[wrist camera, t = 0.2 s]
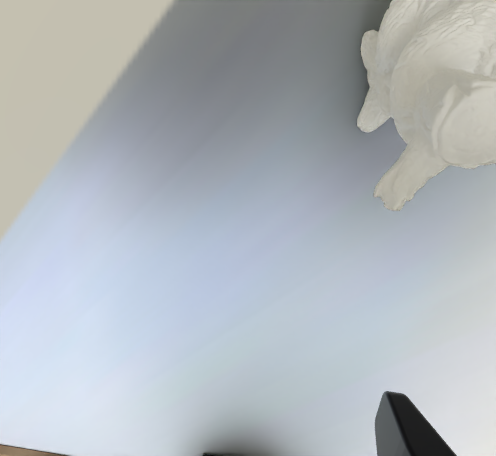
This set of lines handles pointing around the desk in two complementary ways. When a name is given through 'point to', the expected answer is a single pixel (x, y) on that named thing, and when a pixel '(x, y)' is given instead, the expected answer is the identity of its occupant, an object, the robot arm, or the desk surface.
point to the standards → (22, 452)
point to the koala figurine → (432, 89)
